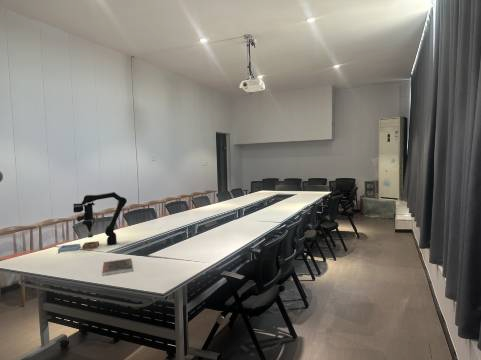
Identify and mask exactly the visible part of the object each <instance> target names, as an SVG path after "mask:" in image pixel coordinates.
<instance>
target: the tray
mask: <svg viewBox="0 0 481 360" xmlns="http://www.w3.org/2000/svg"><path fill="white" fill-rule="evenodd" d="M81 246H82V245H81V243H74V244H73V243H72V244H64V245H61V246H60V247H58V249H57V252H58V253H57V254H60V253H65V252H66V253H67V252H74V251H78V250H79V249H80V248H81Z"/></svg>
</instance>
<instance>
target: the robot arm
mask: <svg viewBox="0 0 481 360" xmlns="http://www.w3.org/2000/svg"><path fill="white" fill-rule="evenodd" d="M109 198H110V199H111V198H114V199H115V200H117V205H116V207H115V208H116V209H115V210H114V212H113V215H112V217H111V219H110V222H109V224H106V225H105V228H104V229H103V230H104V233H105V235H106V237H107V239H106V244H107V246H113V245H117V244H118V242H117V240H118V239H117V234H116V232H115V231H114V230H115V226H116V223H117V221H118V219H119V216H120V213H121V212H122V210H123V208H124V207H125V206H126V204H127V202H128V201H127V199H126V198H125V197H123V196H120V195H119V194H118V193H116V192H114V191H113V192H108V193H107V192H106V193H99V194H85V195H84V197H83V200H82V201H81V202H80V203H79V202H78V203H73V209H72V210H73V213H75V214H77V213H82V212H83V211H84V213H83V214H82V215H79V216H77V217H76V219H75V220H76V221H77V222H78V223H79V222H81V221H82V225H85V226H86V227H87V228H88V231H89V232H91V228H92V229H93V227H94V224H95V221H96V216H94V210H93V207H94V206H95V205H96V204H95V203H94V202H96V201H98V200H103V199H104V200H105V199H109ZM87 228H86V229H87ZM88 231H87V232H88Z"/></svg>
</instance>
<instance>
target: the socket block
mask: <svg viewBox="0 0 481 360" xmlns="http://www.w3.org/2000/svg"><path fill="white" fill-rule="evenodd" d="M99 246H100V240H98V241H87V242H84V243H83V244H82V250H83V251H84V250H91V249H98V248H99Z"/></svg>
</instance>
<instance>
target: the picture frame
mask: <svg viewBox="0 0 481 360" xmlns="http://www.w3.org/2000/svg"><path fill="white" fill-rule="evenodd" d="M132 261H133V260H132V258H125V259H124V258H123V259H118V260H117V259H116V260H111V261H104V262H103V264H102V265H103V266H102V270H101V271H102V272H101V274H102V275H101V276H102V277H104V276H111V275H116V274H123V273H129V272H130V273H131V272H133V271H134V270H133V262H132Z"/></svg>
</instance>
